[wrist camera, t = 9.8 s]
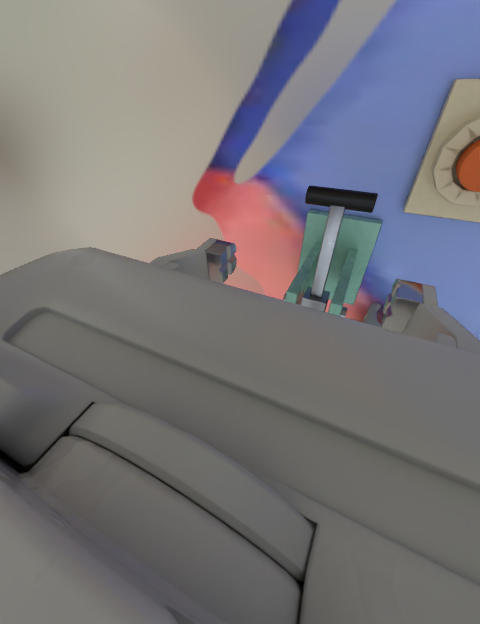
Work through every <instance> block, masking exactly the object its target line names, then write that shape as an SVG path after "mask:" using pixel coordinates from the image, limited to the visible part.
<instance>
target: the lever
mask: <svg viewBox="0 0 480 624" xmlns="http://www.w3.org/2000/svg"><path fill="white" fill-rule="evenodd" d="M377 196H378V194H377V193H369V192H360V191H352V190H344V189H335V188H327V187H318V186H309V187H308V189H307V193H306V198H305V202H306V204H313V205H320V206H327V207H330V209H329V213H328V218H327V222H326V226H325V231H324V235H323V240H322V244H321V249H320V253H319V257H318V262H317V266H316V271H315V275H314V280H313V284H312V287H309V286H308V288H307V290H306V292H305V294H304V295H303V297H302V302H301V306H305V307H309V308H312V309H316V310H320V311H323V312H325V310H326V306H327V302H328V299H329V295H330V292H329V291H325V290H324V289H325V286H326V282H327V278H328V274H329V270H330V266H331V262H332V259H333V255H334V251H335V247H336V243H337V239H338V236H339V232H340V228H341V224H342V220H343V216H344V212H345V209H348V210H355V211H362V212H369V213H372V212H373V209H374V206H375V203H376V199H377Z"/></svg>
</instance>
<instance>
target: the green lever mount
mask: <svg viewBox="0 0 480 624" xmlns="http://www.w3.org/2000/svg"><path fill="white" fill-rule="evenodd" d="M328 213H329V212H323V211H316V210H310V211H309V212H308V214H307V220H306V226H305V232H304V238H303V244H302V250H301V256H300V262H299V268H298V273H297V275H296V276H295V278H294V280H293V282H292V283H291V285H290V287H289V289H288V290H287V292H286V293H285V295H284V298H283V301H287V302H291V303H294V304H298V305H301V302H302V297H303V295H304V294H305V292H306V290H307V288H308V286H309V287H312V284H313V280H314V275H315V271H316V266H317V262H318V257H319V253H320V249H321V244H322V240H323V235H324V231H325V226H326V222H327V218H328ZM381 226H382V220H377V219H370V218H363V217H357V216H350V215H344V216H343V220H342V224H341V228H340V232H339V236H338V239H337V243H336V247H335V251H334V255H333V259H332V262H331V266H330V270H329V274H328V278H327V282H326V286H325V289H324V290H325V291H329V292H330V295H329V299H332V301H331V304H330V308H329V311H328V313H330V314H334V315H338V316H341V317H345V315H346V312H347V308H346V307H343V303H347V304H351V305H353V304H354V301H355V299H356V296H357V293H358V290H359V287H360V285H361V282H362V279H363V276H364V273H365V271H366V268H367V265H368V262H369V259H370V256H371V254H372V251H373V248H374V245H375V242H376V240H377V237H378V234H379V231H380V228H381Z"/></svg>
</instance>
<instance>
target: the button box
mask: <svg viewBox="0 0 480 624" xmlns="http://www.w3.org/2000/svg"><path fill="white" fill-rule="evenodd" d="M478 140H480V79H455V80H454V81H453V84H452V86H451V89H450V91H449V94H448V96H447V99H446V101H445V104H444V106H443V109H442V112H441V114H440V117H439V119H438V122H437V124H436V127H435V129H434V132H433V134H432V137H431V139H430V142H429V145H428V147H427V150H426V152H425V155H424V157H423V160H422V162H421V165H420V167H419V170H418V172H417V175H416V178H415V180H414V183H413V185H412V188H411V190H410V193H409V195H408V198H407V200H406V203H405V206H404V212H405V213H413V214H420V215H427V216H435V217H442V218H449V219H457V220H464V221H471V222H479V223H480V192H475V191H471V190H468V189H466V188H465V187H464V186H463V185H462V184H461V183H460V181H459V180H458V178H457V176H456V165H457V162H458V160H459V158H460V156H461V155H462V153H463V152H464V151H465V150H466V149H467V148H468V147H469V146H470V145H472V144H473V143H474V142H476V141H478Z"/></svg>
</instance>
